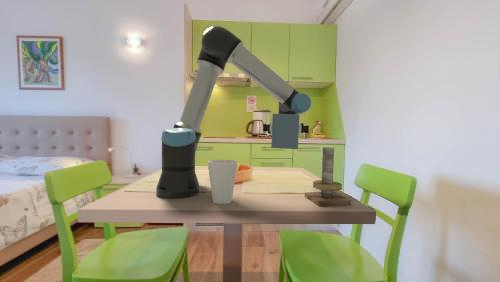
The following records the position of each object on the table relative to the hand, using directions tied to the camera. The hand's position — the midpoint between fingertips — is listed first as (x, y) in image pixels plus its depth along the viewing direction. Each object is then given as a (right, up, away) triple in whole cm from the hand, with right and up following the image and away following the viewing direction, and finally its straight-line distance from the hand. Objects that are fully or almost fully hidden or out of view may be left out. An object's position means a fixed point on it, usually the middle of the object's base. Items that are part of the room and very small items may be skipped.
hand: (285, 128), depth 75 cm
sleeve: (+1, -6, +5) cm, 8 cm away
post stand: (+15, -24, +5) cm, 29 cm away
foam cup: (-20, -24, +3) cm, 31 cm away
